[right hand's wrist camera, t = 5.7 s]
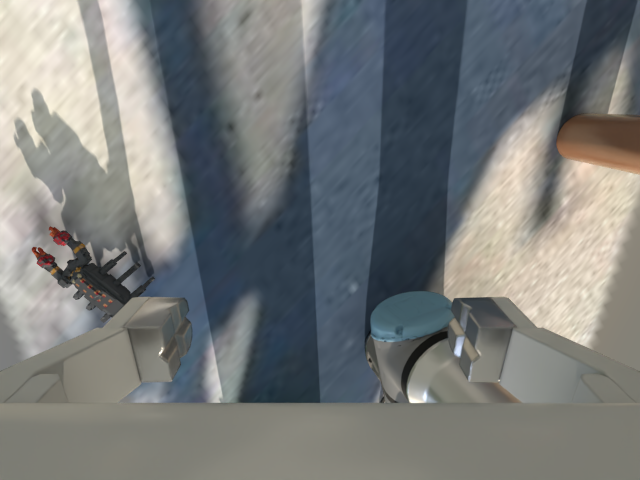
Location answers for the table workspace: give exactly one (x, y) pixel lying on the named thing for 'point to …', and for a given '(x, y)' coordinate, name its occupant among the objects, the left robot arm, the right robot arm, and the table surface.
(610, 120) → the bottle
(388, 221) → the table surface
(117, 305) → the toy
